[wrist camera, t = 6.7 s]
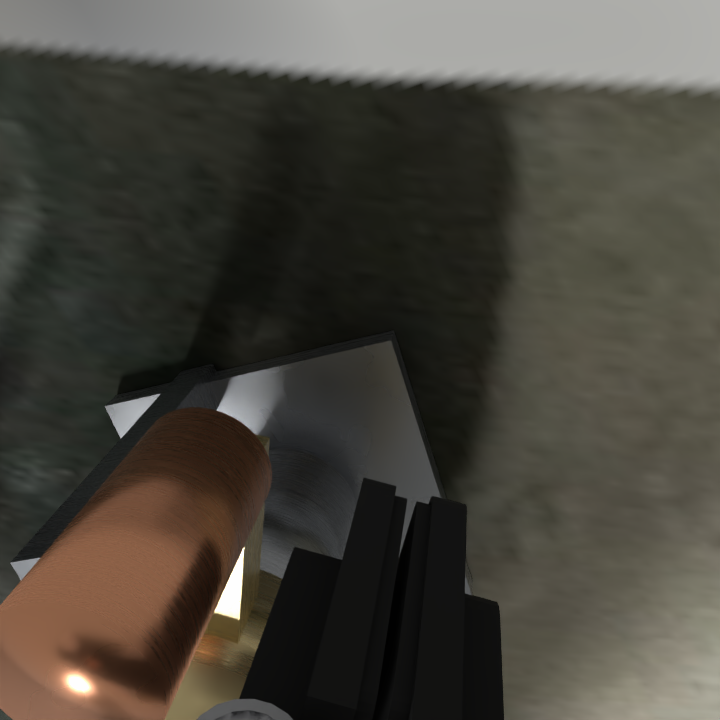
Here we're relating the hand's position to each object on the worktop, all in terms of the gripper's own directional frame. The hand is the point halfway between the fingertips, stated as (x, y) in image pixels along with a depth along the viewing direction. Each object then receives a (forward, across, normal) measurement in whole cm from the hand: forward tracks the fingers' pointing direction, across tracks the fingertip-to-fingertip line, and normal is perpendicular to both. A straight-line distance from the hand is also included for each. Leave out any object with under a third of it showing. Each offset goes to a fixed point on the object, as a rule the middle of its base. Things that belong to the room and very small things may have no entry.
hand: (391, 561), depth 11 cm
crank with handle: (+3, +3, +5) cm, 7 cm away
